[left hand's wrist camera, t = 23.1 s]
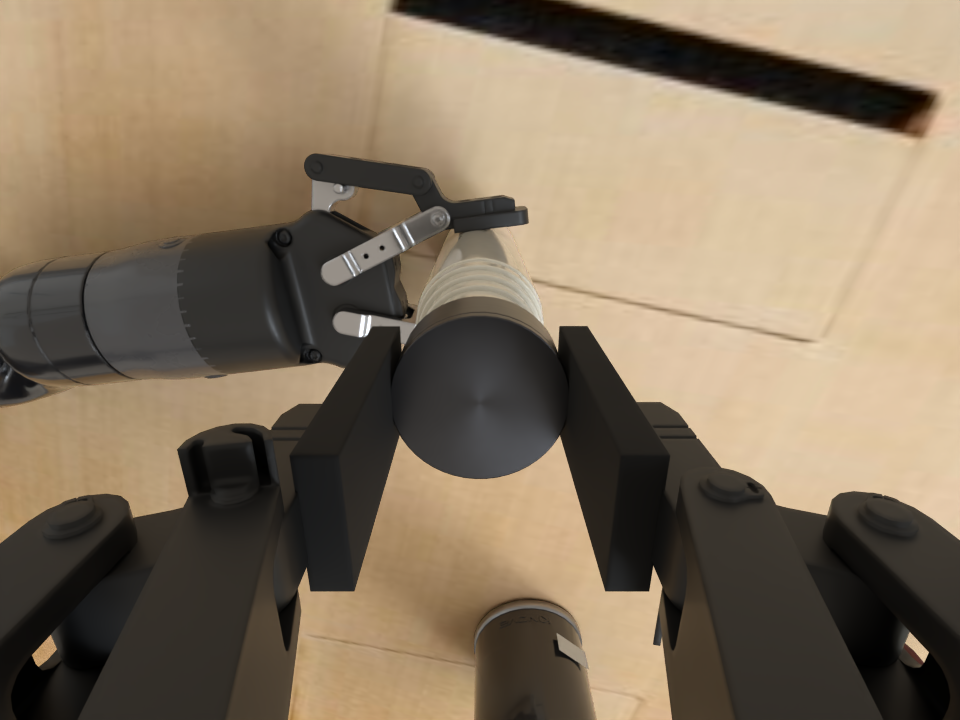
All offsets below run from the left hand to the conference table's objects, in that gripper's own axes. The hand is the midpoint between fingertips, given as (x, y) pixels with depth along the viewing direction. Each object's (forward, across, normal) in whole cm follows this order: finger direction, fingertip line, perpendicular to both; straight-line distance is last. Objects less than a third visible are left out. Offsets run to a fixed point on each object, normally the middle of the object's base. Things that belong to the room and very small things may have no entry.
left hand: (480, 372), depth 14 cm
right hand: (+14, -3, 0) cm, 14 cm away
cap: (-2, 0, 0) cm, 2 cm away
